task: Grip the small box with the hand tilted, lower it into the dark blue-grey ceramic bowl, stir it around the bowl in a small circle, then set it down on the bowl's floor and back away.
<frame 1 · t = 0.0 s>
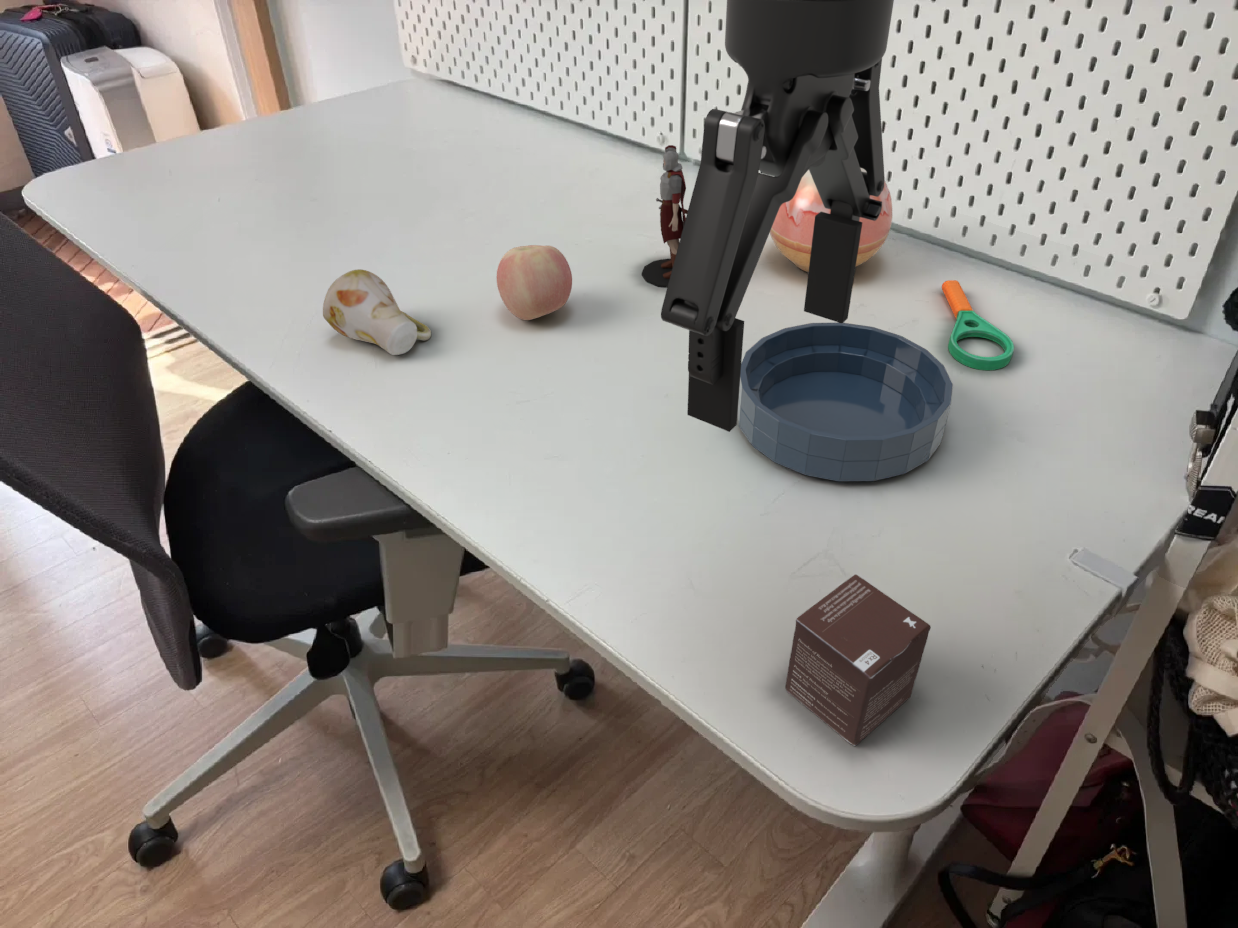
hand: (772, 364, 55), 21 cm above the table, tool pointing down, fingers open, 13 cm apart
bowl: (837, 421, 85), on the table
apple: (537, 316, 101), on the table
vase: (823, 264, 109), on the table
figurine: (673, 275, 108), on the table
magnifying glass: (967, 331, 97), on the table
box: (846, 696, 62), on the table
mug: (384, 342, 98), on the table
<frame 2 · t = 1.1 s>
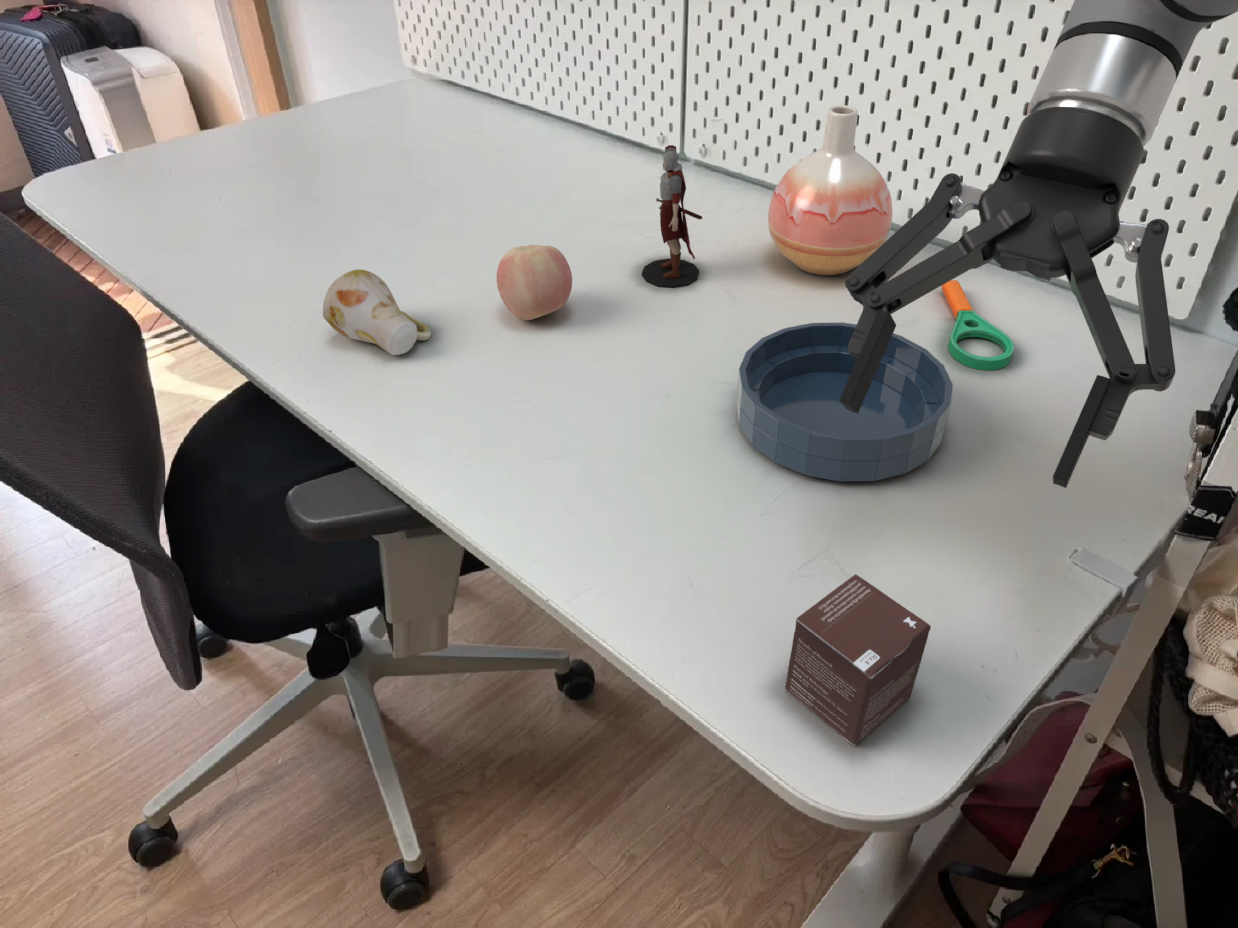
hand: (948, 443, 59), 15 cm above the table, tool tilted 45°, fingers open, 13 cm apart
nothing on the table moved.
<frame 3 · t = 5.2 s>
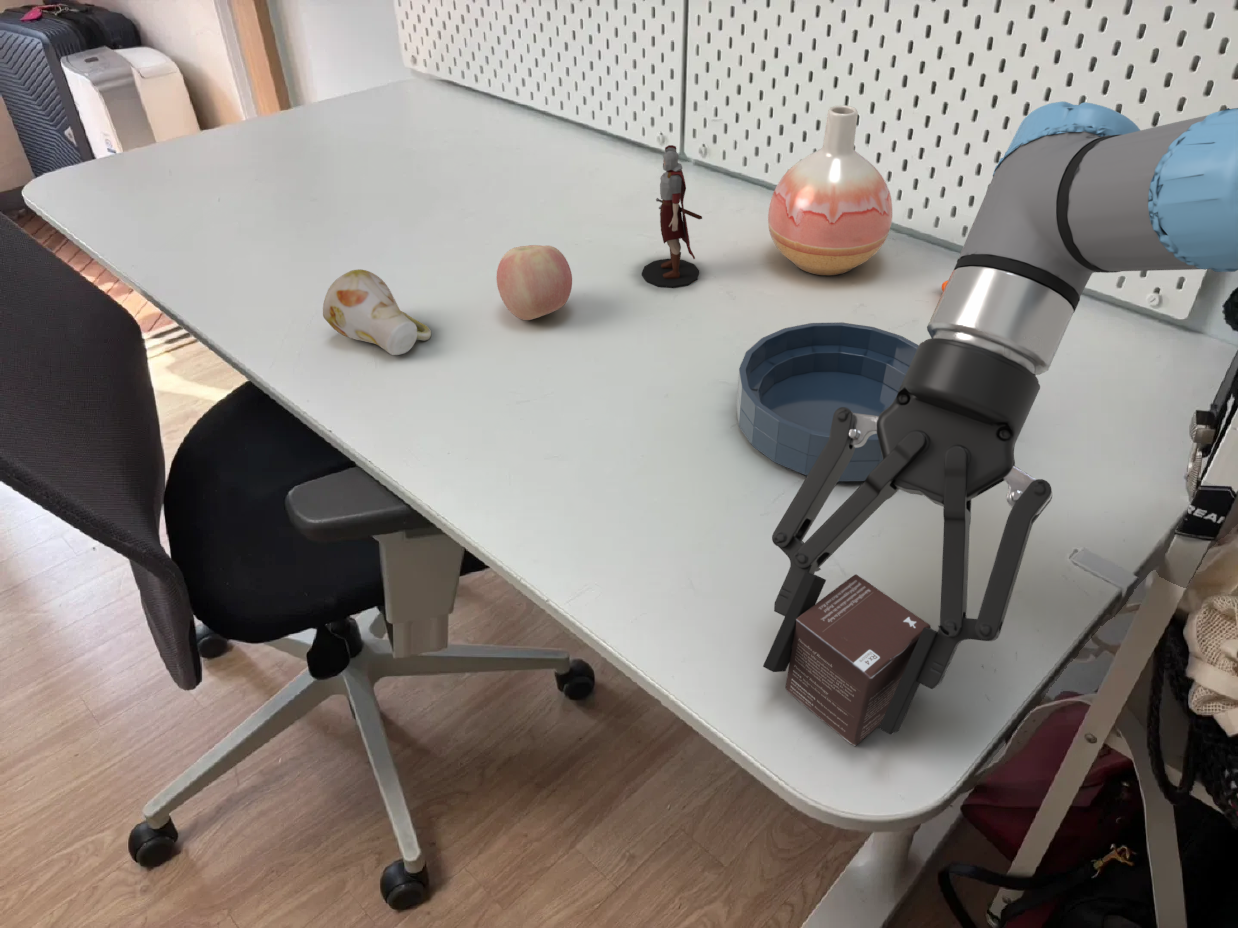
hand: (830, 697, 58), 4 cm above the table, tool tilted 45°, fingers closed on box, 7 cm apart
box: (847, 696, 62), on the table, touching gripper
everything else where it was.
when the fingers open (4 cm above the table, at t = 18.2 s): box stays where it is, resting on bowl.
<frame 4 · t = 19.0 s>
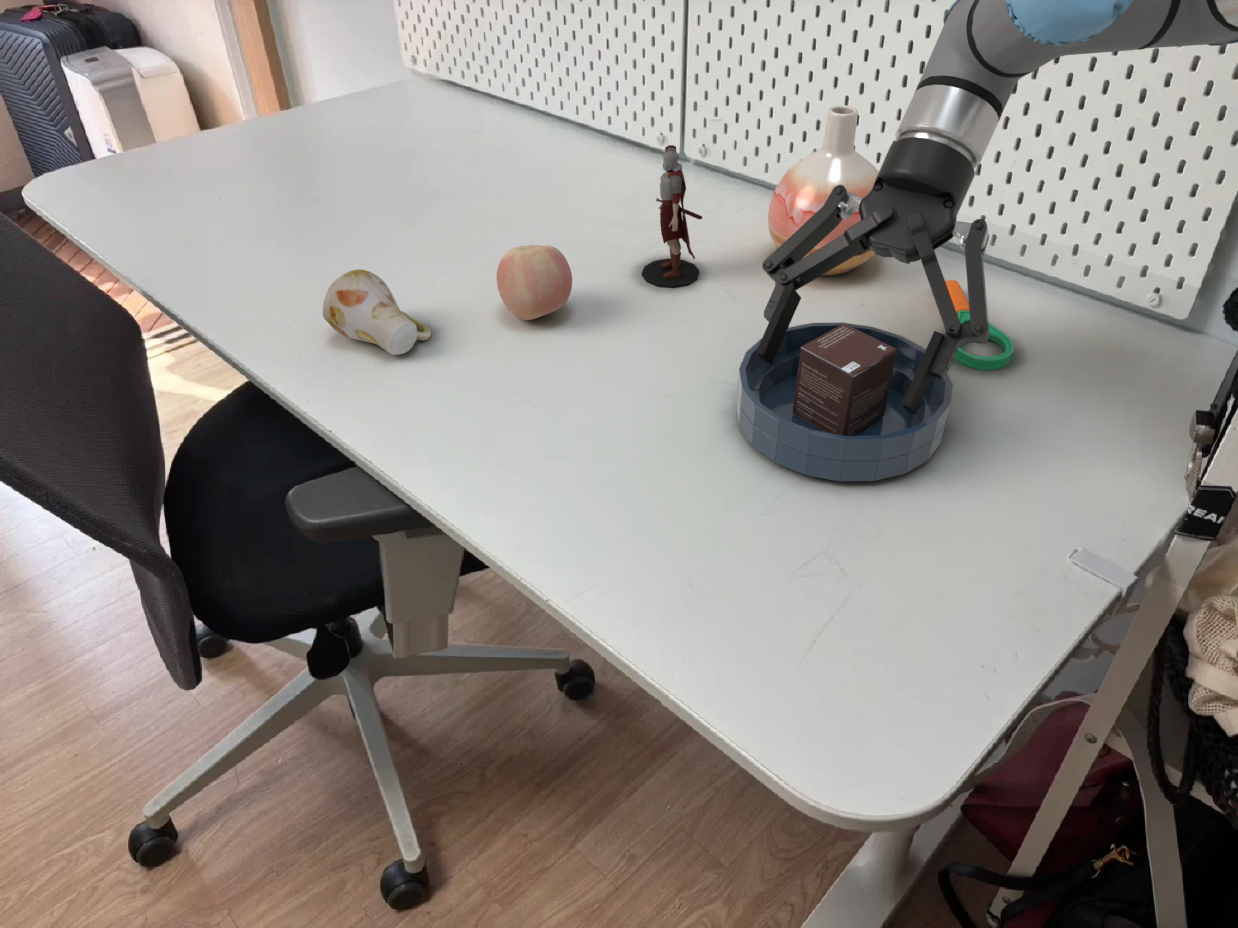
hand: (833, 383, 80), 6 cm above the table, tool tilted 45°, fingers open, 13 cm apart
box: (837, 417, 85), resting on bowl
everything else where it was.
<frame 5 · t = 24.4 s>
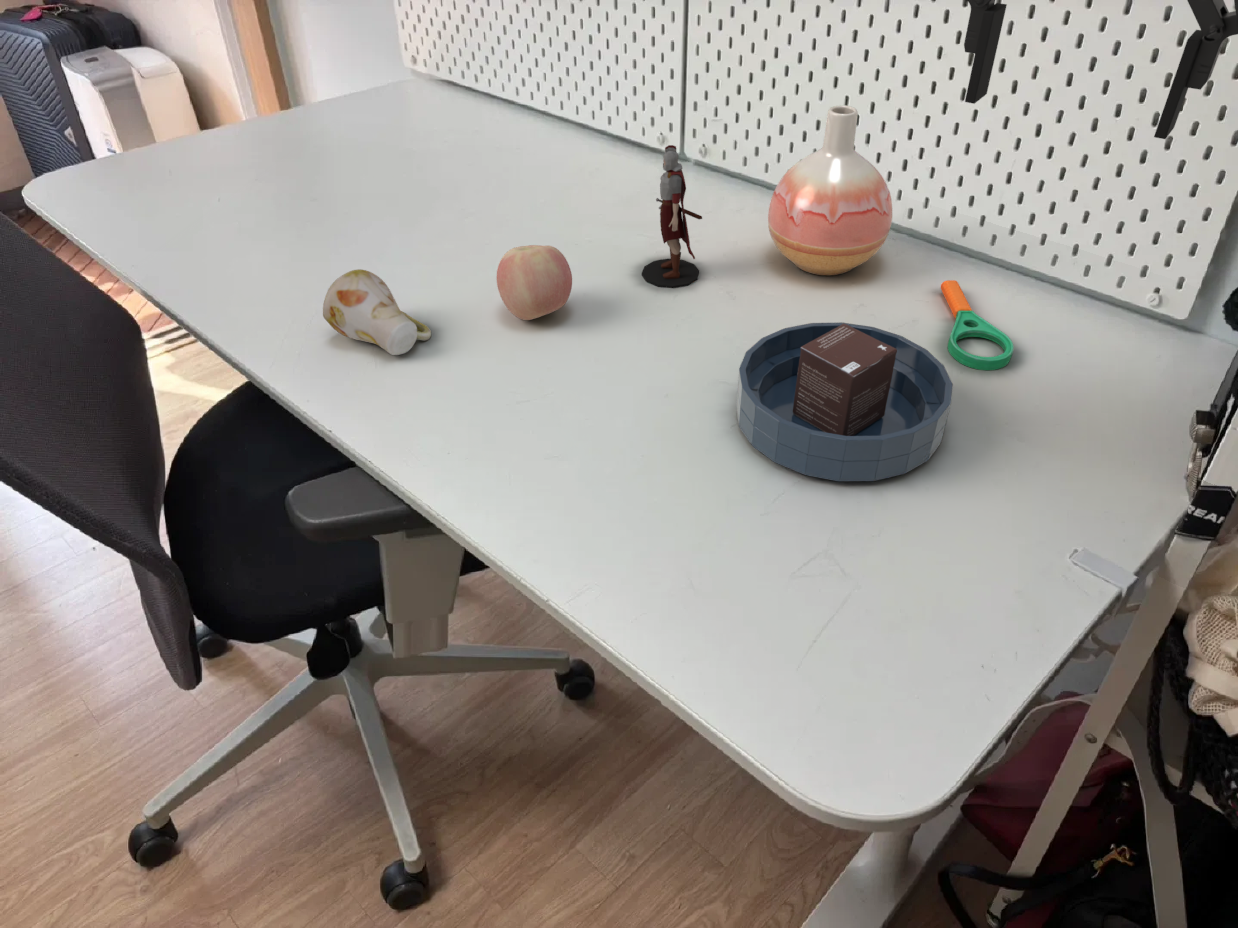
hand: (1065, 114, 70), 27 cm above the table, tool pointing down, fingers open, 13 cm apart
nothing on the table moved.
at the end: box inside the target area in the bowl (0.1 cm from its centre), point 0.4 cm above the bowl's base; box tilted 0°; the gripper is holding nothing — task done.
